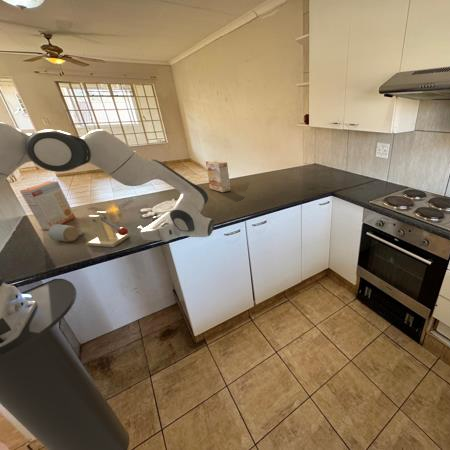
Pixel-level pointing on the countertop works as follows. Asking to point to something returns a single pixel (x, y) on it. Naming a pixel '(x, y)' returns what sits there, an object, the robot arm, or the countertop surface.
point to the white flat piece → (159, 208)
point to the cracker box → (48, 204)
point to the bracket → (104, 232)
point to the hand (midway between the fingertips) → (146, 223)
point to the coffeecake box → (218, 175)
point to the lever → (113, 225)
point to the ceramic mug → (64, 233)
